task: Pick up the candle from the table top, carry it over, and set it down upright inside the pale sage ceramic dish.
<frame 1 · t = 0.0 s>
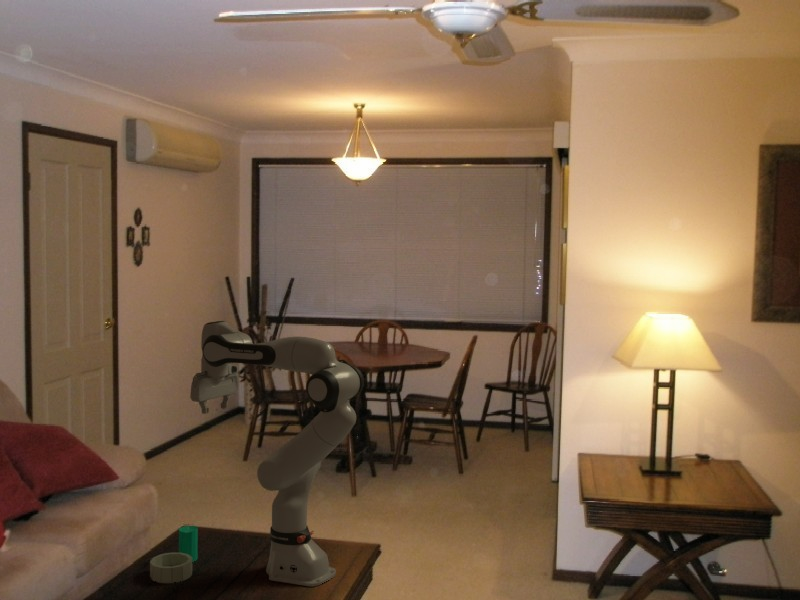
hand: (214, 410, 281), 48 cm above the table, tool pointing down, fingers open, 8 cm apart
candle: (188, 560, 278), on the table
dish: (171, 574, 265), on the table
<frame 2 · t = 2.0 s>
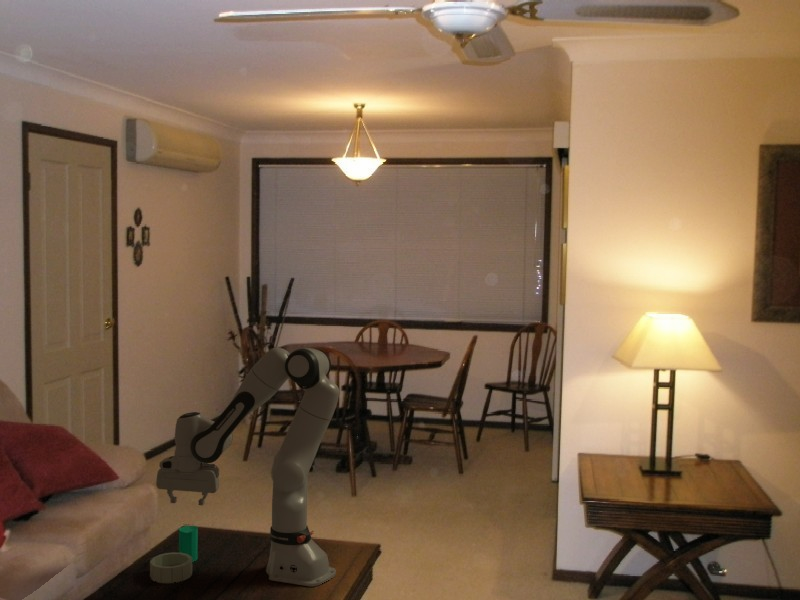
hand: (187, 503, 276), 19 cm above the table, tool pointing down, fingers open, 8 cm apart
nothing on the table moved.
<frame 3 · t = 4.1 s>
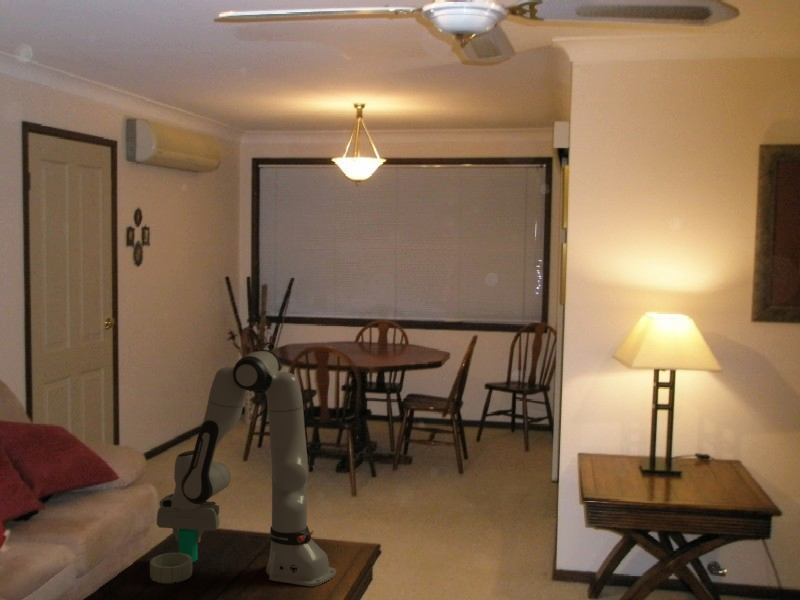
hand: (188, 541, 277), 6 cm above the table, tool pointing down, fingers closed on candle, 5 cm apart
candle: (188, 560, 278), on the table, touching gripper
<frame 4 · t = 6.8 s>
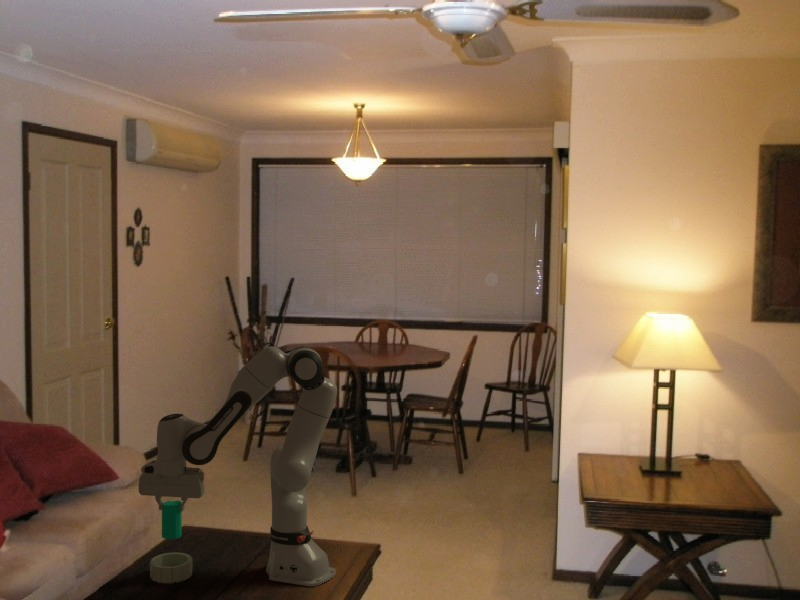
hand: (171, 510, 264), 21 cm above the table, tool pointing down, fingers closed on candle, 5 cm apart
candle: (171, 536, 264), point 12 cm above the table, touching gripper
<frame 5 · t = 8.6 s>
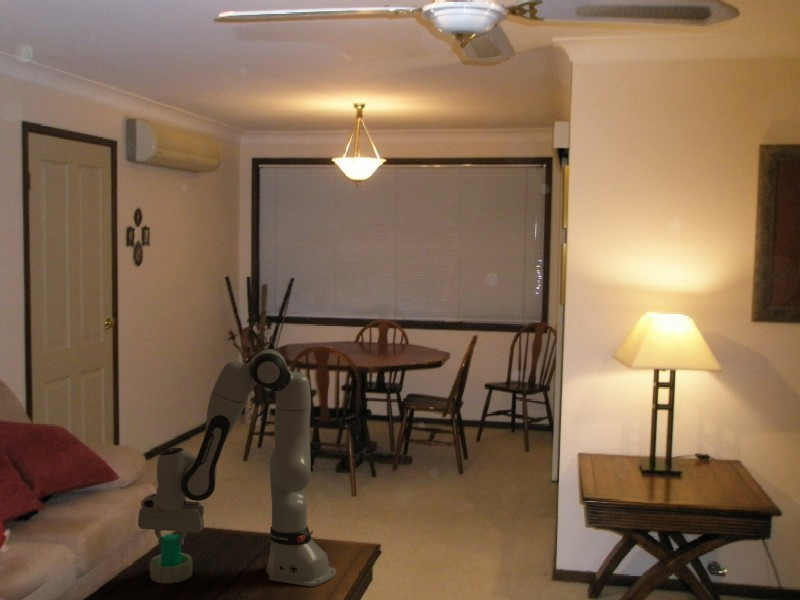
hand: (171, 543, 264), 10 cm above the table, tool pointing down, fingers closed on candle, 5 cm apart
candle: (170, 570, 265), point 2 cm above the table, touching gripper
when the fingers open (9 cm above the table, at t = 9.8 s): candle stays where it is, resting on dish.
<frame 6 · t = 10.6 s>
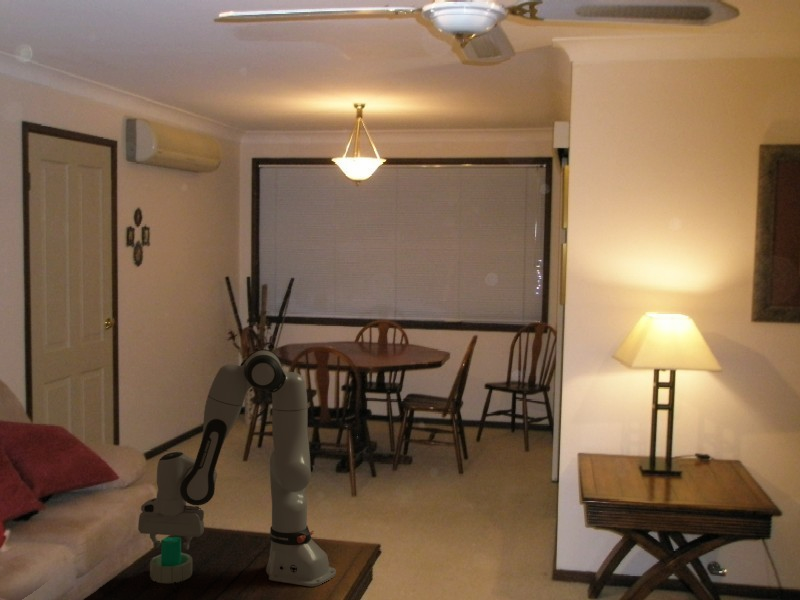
hand: (171, 548, 265), 9 cm above the table, tool pointing down, fingers open, 8 cm apart
candle: (171, 573, 265), point 1 cm above the table, touching dish
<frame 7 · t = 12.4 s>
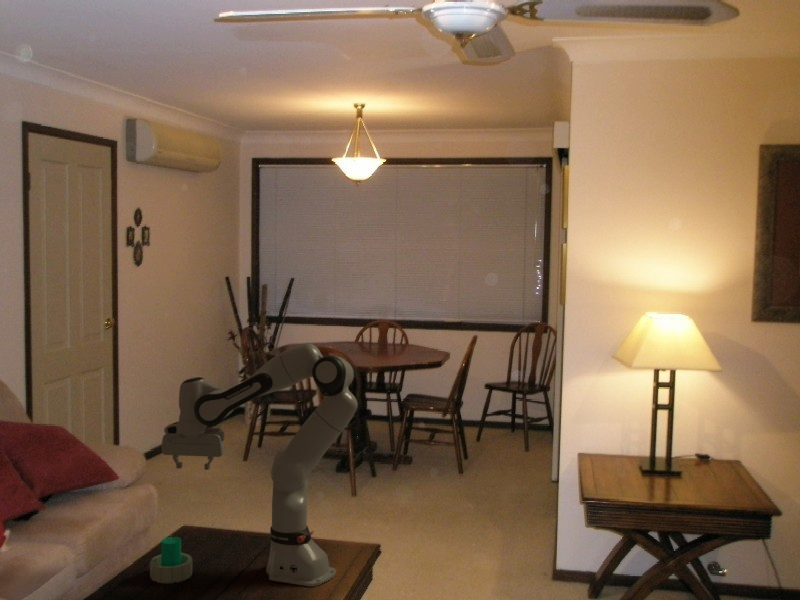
hand: (193, 468, 277), 30 cm above the table, tool pointing down, fingers open, 8 cm apart
nothing on the table moved.
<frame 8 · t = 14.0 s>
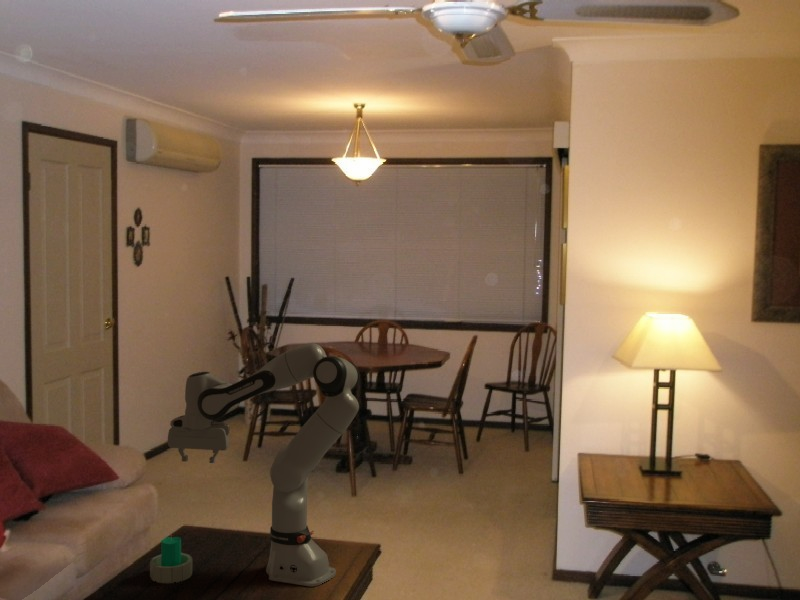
hand: (198, 461, 281), 31 cm above the table, tool pointing down, fingers open, 8 cm apart
nothing on the table moved.
at the end: candle 0.1 cm off-centre on the dish, point 0.6 cm above the dish's base; candle tilted 0°; the gripper is holding nothing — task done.
